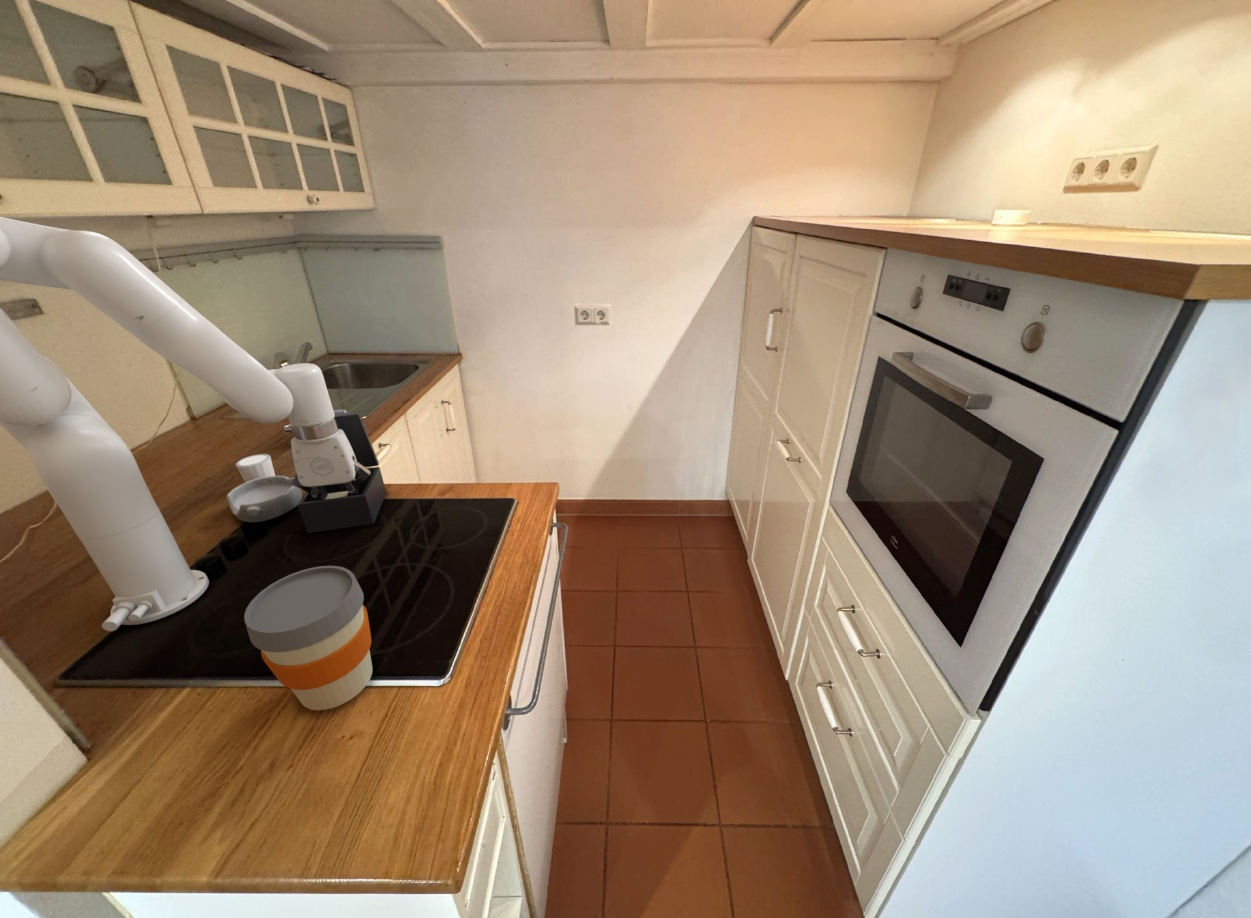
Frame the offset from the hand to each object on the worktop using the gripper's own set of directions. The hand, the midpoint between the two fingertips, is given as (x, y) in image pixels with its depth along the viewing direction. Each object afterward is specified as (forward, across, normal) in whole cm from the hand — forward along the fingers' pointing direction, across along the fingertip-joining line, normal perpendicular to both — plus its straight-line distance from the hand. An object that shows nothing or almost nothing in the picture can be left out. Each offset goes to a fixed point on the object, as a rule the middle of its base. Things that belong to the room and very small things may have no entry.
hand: (341, 508), depth 104 cm
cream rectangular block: (0, 0, 0) cm, 0 cm away
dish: (+3, -18, +10) cm, 21 cm away
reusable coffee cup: (+3, +10, -45) cm, 46 cm away
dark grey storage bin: (+3, 0, +3) cm, 4 cm away
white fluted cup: (+3, -24, +22) cm, 33 cm away
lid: (-11, 0, +8) cm, 14 cm away
